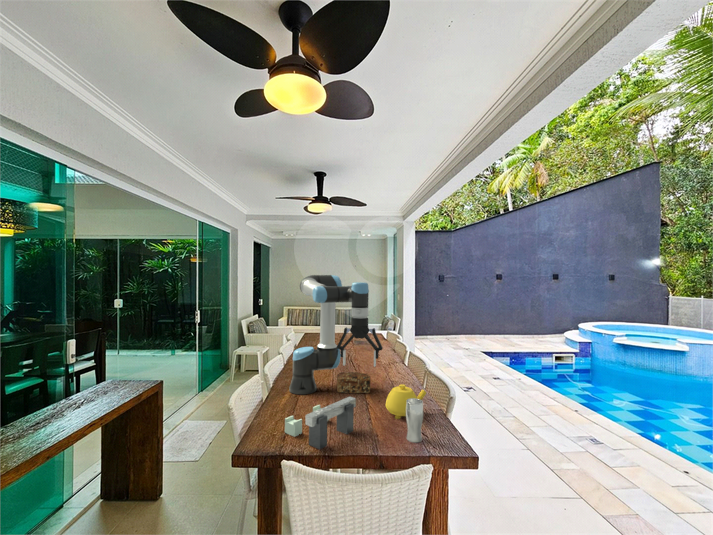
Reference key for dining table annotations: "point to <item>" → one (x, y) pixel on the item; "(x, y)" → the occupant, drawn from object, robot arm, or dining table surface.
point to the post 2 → (346, 420)
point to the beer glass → (414, 419)
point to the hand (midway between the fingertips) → (359, 365)
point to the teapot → (401, 400)
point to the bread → (353, 382)
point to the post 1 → (318, 434)
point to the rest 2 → (317, 409)
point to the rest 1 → (293, 426)
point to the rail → (329, 411)
